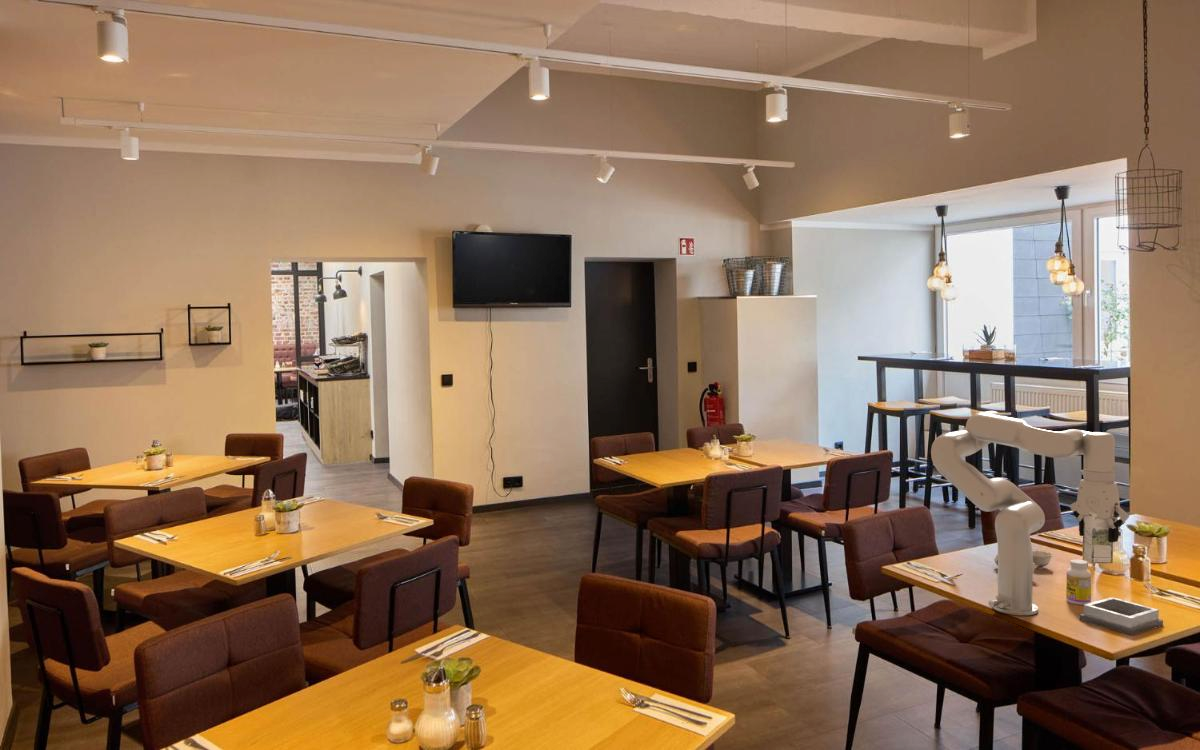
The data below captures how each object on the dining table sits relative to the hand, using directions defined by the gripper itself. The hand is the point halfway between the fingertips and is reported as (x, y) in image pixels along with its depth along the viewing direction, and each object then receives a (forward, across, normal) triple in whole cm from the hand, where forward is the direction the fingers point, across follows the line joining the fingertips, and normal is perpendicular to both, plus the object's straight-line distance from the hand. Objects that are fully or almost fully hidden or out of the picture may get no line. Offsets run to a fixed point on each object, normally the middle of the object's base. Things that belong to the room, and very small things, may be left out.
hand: (1098, 538), depth 240 cm
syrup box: (+7, 0, 0) cm, 7 cm away
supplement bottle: (+26, -17, +16) cm, 35 cm away
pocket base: (+26, 0, +10) cm, 28 cm away
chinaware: (+26, -48, +29) cm, 62 cm away
